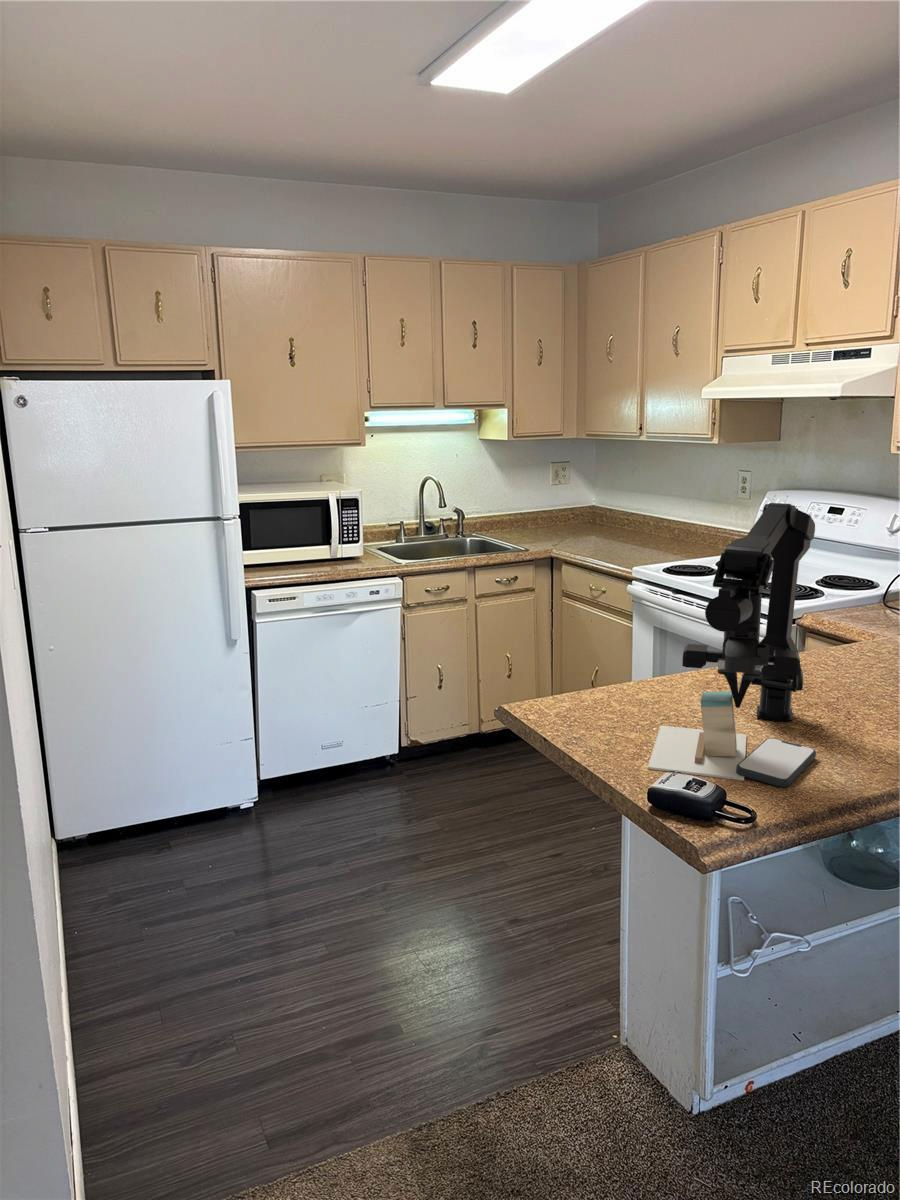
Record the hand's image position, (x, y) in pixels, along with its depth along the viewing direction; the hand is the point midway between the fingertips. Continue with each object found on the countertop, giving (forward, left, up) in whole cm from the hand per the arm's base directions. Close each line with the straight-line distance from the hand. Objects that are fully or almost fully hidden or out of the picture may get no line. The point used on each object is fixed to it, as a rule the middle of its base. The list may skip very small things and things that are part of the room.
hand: (737, 707), depth 148 cm
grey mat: (0, -6, -9) cm, 11 cm away
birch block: (0, -2, -8) cm, 9 cm away
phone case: (+3, +7, -9) cm, 12 cm away
